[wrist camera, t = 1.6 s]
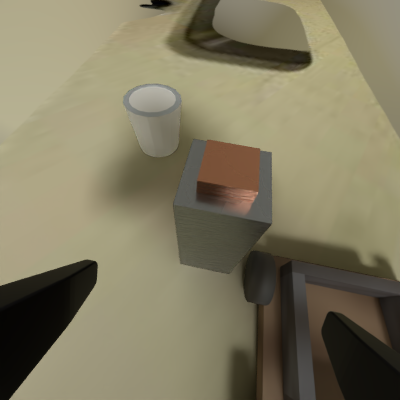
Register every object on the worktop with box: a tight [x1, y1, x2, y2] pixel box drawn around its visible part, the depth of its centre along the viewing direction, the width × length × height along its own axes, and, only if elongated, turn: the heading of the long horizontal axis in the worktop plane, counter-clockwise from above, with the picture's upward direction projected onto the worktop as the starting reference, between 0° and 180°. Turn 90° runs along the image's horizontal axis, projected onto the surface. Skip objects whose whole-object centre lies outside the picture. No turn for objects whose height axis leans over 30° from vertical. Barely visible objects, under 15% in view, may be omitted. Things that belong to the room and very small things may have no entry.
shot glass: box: [123, 84, 182, 157], centre depth 26 cm, size 7×7×7 cm
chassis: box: [244, 250, 400, 400], centre depth 14 cm, size 16×16×4 cm
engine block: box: [173, 139, 272, 274], centre depth 16 cm, size 5×5×13 cm
